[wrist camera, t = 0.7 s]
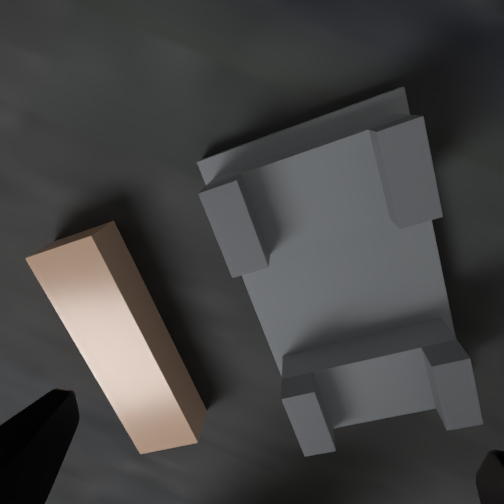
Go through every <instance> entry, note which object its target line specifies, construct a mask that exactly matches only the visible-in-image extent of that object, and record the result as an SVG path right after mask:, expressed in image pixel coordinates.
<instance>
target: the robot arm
mask: <svg viewBox="0 0 504 504" xmlns="http://www.w3.org/2000/svg"><path fill="white" fill-rule="evenodd" d="M78 423H79V410H78V404H77V399H76V394H75V392H74V391H73V390H68V389H61V388H56V389H53V390H51V391H50V392H48V393H47V394H45V395H44V396H43V397H41V398H40V399H38V400H37V401H35V402H34V403H32V404H31V405H29V406H28V407H26V408H25V409H24V410H22V411H21V412H19V413H18V414H16V415H15V416H13V417H12V418H10V419H9V420H7V421H6V422H4V423H3V424H2V425H0V504H45V502H46V500H47V498H48V495H49V493H50V491H51V489H52V486H53V484H54V482H55V479H56V477H57V474H58V472H59V470H60V467H61V465H62V462H63V460H64V458H65V455H66V453H67V450H68V448H69V446H70V443H71V441H72V438H73V436H74V434H75V431H76V429H77V426H78ZM476 485H477V490H478V494H479V498H480V502H481V504H504V451H499V450H491V451H489V452H488V454H487V456H486V457H485V459H484V461H483V462H482V464H481V466H480V468H479V469H478V471H477V474H476Z"/></svg>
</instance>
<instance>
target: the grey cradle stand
mask: <svg viewBox="0 0 504 504" xmlns="http://www.w3.org/2000/svg"><path fill="white" fill-rule="evenodd" d="M197 164H198V166H199V169H200V171H201V174H202V176H203V179H204V181H205V184H206V186H205V187H204V188H203V189H202V190H201V191H200V192H199V193H198V194H199V197H200V199H201V202H202V204H203V207H204V209H205V212H206V214H207V217H208V219H209V222H210V224H211V227H212V229H213V231H214V234H215V236H216V239H217V241H218V244H219V246H220V249H221V251H222V254H223V256H224V259H225V261H226V264H227V266H228V269H229V271H230V273H231V276H232V278H234V277H238V276H241V275H242V278H243V280H244V283H245V285H246V288H247V290H248V293H249V295H250V298H251V300H252V303H253V306H254V308H255V311H256V313H257V316H258V318H259V321H260V323H261V326H262V328H263V331H264V333H265V336H266V338H267V341H268V343H269V346H270V349H271V351H272V354H273V356H274V359H275V361H276V364H277V366H278V369H279V371H280V374H281V376H282V396H281V399H282V402H283V404H284V407H285V409H286V412H287V414H288V417H289V419H290V422H291V424H292V427H293V429H294V432H295V434H296V437H297V439H298V441H299V444H300V446H301V449H302V451H303V454H304V456H305V457H306V456H312V455H317V454H323V453H328V452H334V451H336V448H335V440H334V433H333V428H338V427H343V426H348V425H353V424H358V423H364V422H369V421H374V420H379V419H384V418H389V417H394V416H400V415H405V414H410V413H415V412H420V411H425V410H430V409H437V411H438V414H439V416H440V418H441V420H442V422H443V424H444V426H445V428H446V430H447V431H449V430H454V429H460V428H465V427H471V426H476V425H482V424H483V420H482V415H481V410H480V405H479V400H478V395H477V390H476V384H475V379H474V374H473V369H472V364H471V359H470V357H469V356H468V354H467V353H466V351H465V350H464V349H463V347H462V346H461V344H460V343H459V342H458V340H457V339H456V336H455V331H454V327H453V322H452V317H451V312H450V307H449V302H448V297H447V292H446V288H445V283H444V278H443V273H442V268H441V263H440V258H439V253H438V248H437V244H436V239H435V234H434V229H433V224H432V220H434V219H437V218H441V217H443V214H442V209H441V204H440V199H439V194H438V189H437V183H436V178H435V173H434V168H433V163H432V158H431V153H430V147H429V142H428V137H427V132H426V127H425V122H424V117H423V116H419V115H410V112H409V107H408V102H407V97H406V92H405V87H399V88H396V89H393V90H391V91H388V92H385V93H382V94H380V95H377V96H374V97H371V98H369V99H366V100H363V101H360V102H358V103H355V104H352V105H349V106H347V107H344V108H341V109H338V110H336V111H333V112H330V113H327V114H325V115H322V116H319V117H316V118H314V119H311V120H308V121H305V122H303V123H300V124H297V125H294V126H292V127H289V128H286V129H283V130H281V131H278V132H275V133H272V134H270V135H267V136H264V137H261V138H259V139H256V140H253V141H250V142H248V143H245V144H242V145H239V146H237V147H234V148H231V149H228V150H226V151H223V152H220V153H217V154H215V155H212V156H209V157H207V158H204V159H201V160H200V161H198V162H197Z"/></svg>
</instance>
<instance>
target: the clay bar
mask: <svg viewBox="0 0 504 504" xmlns="http://www.w3.org/2000/svg"><path fill="white" fill-rule="evenodd" d="M25 259H26V261H27V262H28V264H29V266H30V267H31V269H32V271H33V273H34V274H35V276H36V278H37V279H38V281H39V283H40V284H41V286H42V288H43V290H44V291H45V293H46V295H47V296H48V298H49V300H50V301H51V303H52V305H53V307H54V308H55V310H56V312H57V313H58V315H59V317H60V318H61V320H62V322H63V324H64V325H65V327H66V329H67V330H68V332H69V334H70V335H71V337H72V339H73V341H74V342H75V344H76V346H77V347H78V349H79V351H80V352H81V354H82V356H83V358H84V359H85V361H86V363H87V364H88V366H89V368H90V369H91V371H92V373H93V375H94V376H95V378H96V380H97V381H98V383H99V385H100V386H101V388H102V390H103V392H104V393H105V395H106V397H107V398H108V400H109V402H110V403H111V405H112V407H113V409H114V410H115V412H116V414H117V415H118V417H119V419H120V420H121V422H122V424H123V426H124V427H125V429H126V431H127V432H128V434H129V436H130V437H131V439H132V441H133V443H134V444H135V446H136V448H137V449H138V451H139V453H140V454H144V453H149V452H154V451H159V450H164V449H169V448H174V447H179V446H184V445H189V444H194V443H198V441H199V437H200V433H201V430H202V426H203V422H204V419H205V415H206V411H207V410H206V408H205V406H204V404H203V402H202V400H201V398H200V396H199V394H198V392H197V390H196V388H195V386H194V383H193V381H192V379H191V377H190V375H189V373H188V371H187V369H186V367H185V365H184V363H183V361H182V359H181V357H180V355H179V353H178V351H177V349H176V347H175V345H174V343H173V341H172V339H171V336H170V334H169V332H168V330H167V328H166V326H165V324H164V322H163V320H162V318H161V316H160V314H159V312H158V310H157V308H156V306H155V304H154V302H153V300H152V298H151V296H150V294H149V292H148V290H147V287H146V285H145V283H144V281H143V279H142V277H141V275H140V273H139V271H138V269H137V267H136V265H135V263H134V261H133V259H132V257H131V255H130V253H129V251H128V249H127V247H126V245H125V243H124V240H123V238H122V236H121V234H120V232H119V230H118V228H117V226H116V224H115V222H114V221H111V222H109V223H106V224H103V225H100V226H97V227H94V228H91V229H88V230H85V231H82V232H80V233H77V234H74V235H71V236H68V237H65V238H62V239H59V240H56V241H54V242H52V243H50V244H49V245H47V246H45V247H43V248H42V249H40V250H38V251H37V252H35V253H33V254H31V255H30V256H28V257H26V258H25Z"/></svg>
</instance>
